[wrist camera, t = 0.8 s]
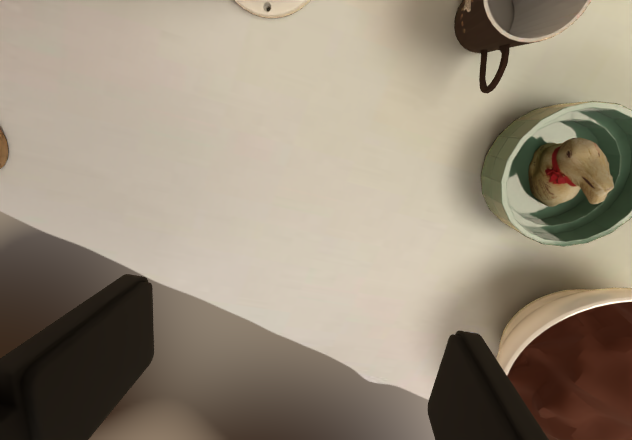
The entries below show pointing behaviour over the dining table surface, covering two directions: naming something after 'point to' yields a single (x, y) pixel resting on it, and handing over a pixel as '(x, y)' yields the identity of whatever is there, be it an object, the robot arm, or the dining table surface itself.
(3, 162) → the candle holder
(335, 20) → the dining table surface
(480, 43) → the coffee mug
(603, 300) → the cream round dish
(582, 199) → the bowl
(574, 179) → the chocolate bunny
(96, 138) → the dining table surface
